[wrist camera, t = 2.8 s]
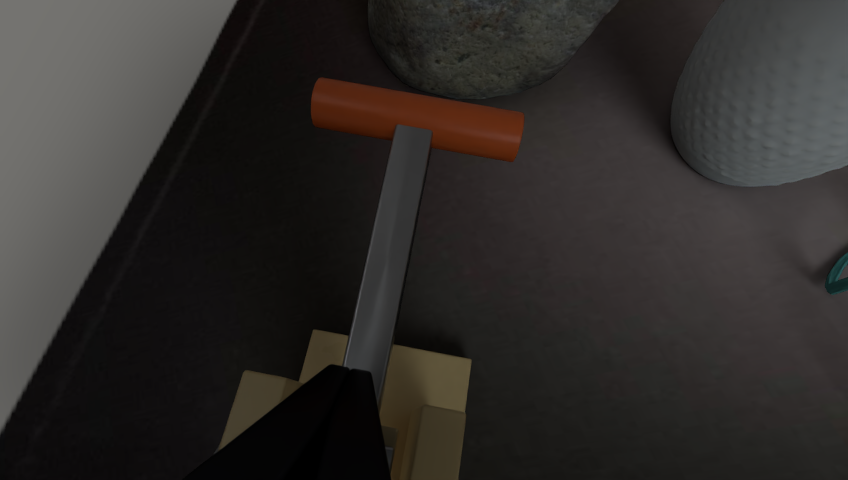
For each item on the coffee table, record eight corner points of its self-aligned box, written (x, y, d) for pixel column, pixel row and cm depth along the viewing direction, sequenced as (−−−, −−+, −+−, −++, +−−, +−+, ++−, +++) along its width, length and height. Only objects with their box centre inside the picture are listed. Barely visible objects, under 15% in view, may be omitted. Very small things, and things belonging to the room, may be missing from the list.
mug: (740, 32, 32) (943, -198, 20) (869, 132, 29) (1201, -68, 17) (602, 125, 28) (752, -91, 16) (735, 252, 25) (1042, 103, 13)
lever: (331, 103, 14) (315, 55, 12) (512, 135, 14) (531, 93, 12) (222, 512, 11) (171, 556, 9) (450, 558, 11) (460, 614, 9)
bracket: (317, 332, 22) (222, 241, 11) (468, 361, 22) (544, 301, 10) (255, 561, 19) (-3, 819, 7) (436, 598, 18) (499, 930, 7)
